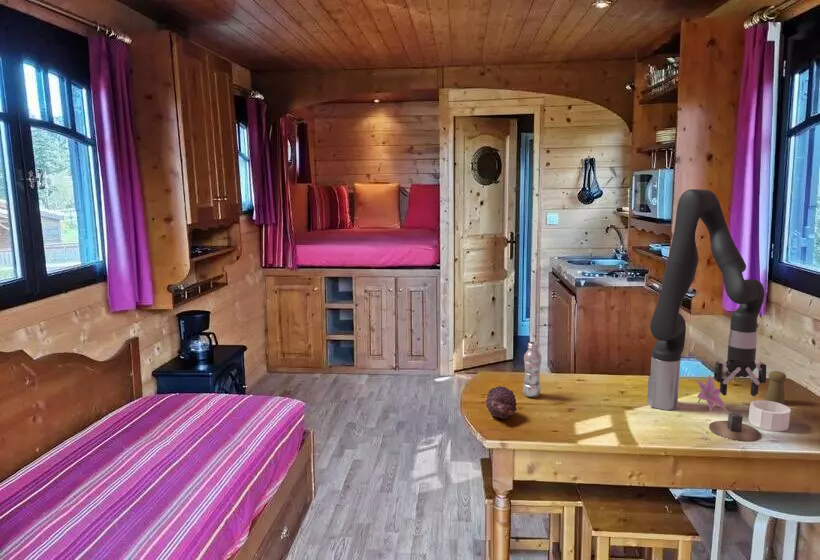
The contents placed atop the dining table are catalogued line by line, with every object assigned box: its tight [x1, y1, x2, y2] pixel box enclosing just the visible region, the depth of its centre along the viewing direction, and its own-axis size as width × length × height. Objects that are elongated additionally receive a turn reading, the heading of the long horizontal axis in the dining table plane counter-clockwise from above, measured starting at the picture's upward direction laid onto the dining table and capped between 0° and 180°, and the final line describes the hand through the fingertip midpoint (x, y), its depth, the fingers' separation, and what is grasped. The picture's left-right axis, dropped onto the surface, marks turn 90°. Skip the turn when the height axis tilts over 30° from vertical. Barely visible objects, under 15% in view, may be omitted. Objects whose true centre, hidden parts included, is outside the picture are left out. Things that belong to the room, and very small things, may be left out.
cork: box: [764, 370, 787, 405], centre depth 210 cm, size 6×6×11 cm
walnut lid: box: [708, 412, 761, 442], centre depth 186 cm, size 14×14×6 cm
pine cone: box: [485, 385, 518, 420], centre depth 199 cm, size 18×10×10 cm, turn 6°
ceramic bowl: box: [748, 399, 792, 433], centre depth 191 cm, size 11×11×6 cm
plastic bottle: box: [522, 341, 543, 398], centre depth 216 cm, size 6×7×20 cm
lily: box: [696, 374, 726, 412], centre depth 207 cm, size 12×12×10 cm
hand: (738, 395), depth 184 cm, fingers open, 8 cm apart
